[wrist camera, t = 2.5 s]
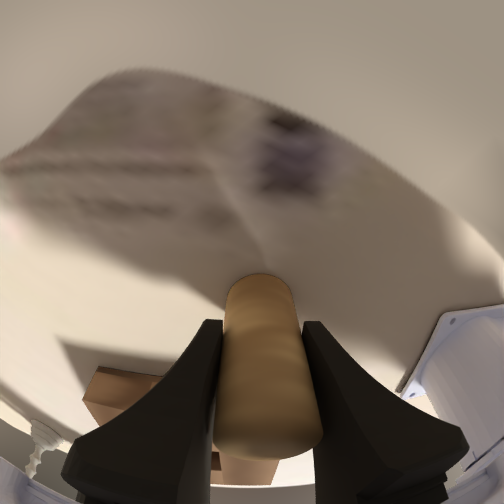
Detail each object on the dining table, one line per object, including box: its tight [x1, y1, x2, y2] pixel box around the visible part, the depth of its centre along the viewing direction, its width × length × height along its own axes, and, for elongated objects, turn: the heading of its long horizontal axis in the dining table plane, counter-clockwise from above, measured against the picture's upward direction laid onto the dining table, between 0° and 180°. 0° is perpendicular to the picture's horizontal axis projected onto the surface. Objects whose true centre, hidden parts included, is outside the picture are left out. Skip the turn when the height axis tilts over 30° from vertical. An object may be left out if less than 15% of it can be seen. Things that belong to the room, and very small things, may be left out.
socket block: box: [82, 366, 280, 485], centre depth 16 cm, size 12×12×3 cm
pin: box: [213, 274, 323, 461], centre depth 9 cm, size 3×3×7 cm
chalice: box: [25, 419, 64, 478], centre depth 13 cm, size 7×7×18 cm
